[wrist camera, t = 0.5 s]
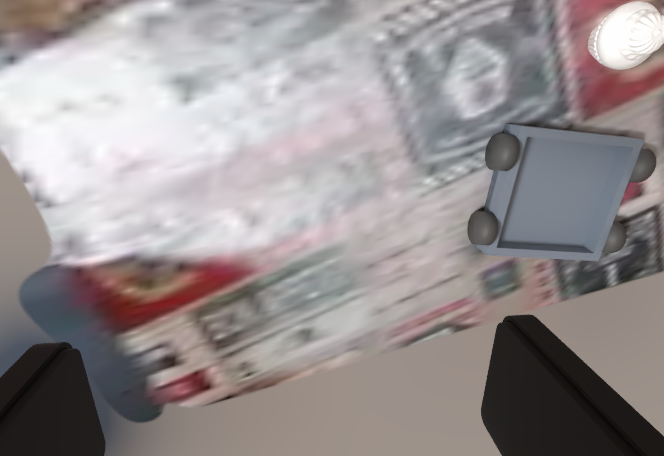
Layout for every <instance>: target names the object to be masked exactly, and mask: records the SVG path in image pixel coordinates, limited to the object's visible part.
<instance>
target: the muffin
mask: <svg viewBox="0 0 664 456" xmlns="http://www.w3.org/2000/svg"><path fill="white" fill-rule="evenodd" d="M662 44H664V15H660V13H659V12H658V10H657V9H656V8H655V7H654V6H653V5H651V4H650V3H647V2H641V1H636V2H630V3H627V4H624V5H622V6H620V7H618V8H617V9H615V10H614V11H613V12H612V13H610V14H609V15H608V16H607V17H605V18H604V19H603V20H602V21H601V22H600V23H599V24H598V26H597V27H596V28H595V29H594V30H593V31H592V33H591V34H590V37H589V40H588V48H589V49H588V50H589V53H590V54H591V55H592V56H593V57H594V58H595V59H596V60H597V61H598V62H599V63H600V64H603V65H604V66H607V67H609V68H612V69H616V70H626V69H630V68H633V67H635V66H637V65H639V64H640V63H642V62H643V61H645V60H646V59H647V58H648V57H649V56H650V55H651V54H652V52H653V51H656V50H658V49H659V48H660V47H661V45H662Z"/></svg>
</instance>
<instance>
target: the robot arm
mask: <svg viewBox="0 0 664 456" xmlns="http://www.w3.org/2000/svg"><path fill="white" fill-rule="evenodd" d="M481 416H482V419H483V423H484V425H485V427H486V429H487V431H488V432H489V433H490V435H491V437H492V439H493V441H494V443H495V444H496V446H497V448H498V449H499V451H500V453H501V455H502V456H664V436H663V435H662V434H661V433H660V432H659V431H657V430H656V429H655V428H654V427H653V426H652V425H651V424H650V423H649V422H648V421H647V420H646V419H645V418H643V417H642V416H641V415H640V414H639V413H638V412H637V411H636V410H635V409H634V408H633V407H632V406H631V405H630V404H628V403H627V402H626V401H625V400H624V399H623V398H622V397H621V396H620V395H619V394H618V393H617V392H616V391H614V390H613V389H612V388H611V387H610V386H609V385H608V384H607V383H606V382H604V380H603V379H602V378H600V377H599V376H598V375H597V374H596V373H595V372H594V371H593V370H592V369H591V368H590V367H589V366H588V365H587V364H585V363H584V362H583V361H582V360H581V359H580V358H579V357H578V356H577V355H576V354H575V353H574V352H573V351H572V350H571V349H569V348H568V347H567V346H566V345H565V344H564V343H563V342H562V341H561V340H560V339H558V337H557V336H555V335H554V334H553V333H552V332H551V331H550V330H549V329H548V328H547V327H546V326H545V325H544V324H543V323H541V322H540V321H539V320H538V319H537V318H536V317H535V316H533V315H514V316H507V317H505V318H504V320H503V322H502V323H499V324H498V325H497V329H496V333H495V339H494V344H493V349H492V354H491V359H490V365H489V370H488V375H487V381H486V386H485V391H484V397H483V401H482V407H481ZM104 453H105V439H104V435H103V432H102V428H101V425H100V421H99V418H98V414H97V410H96V407H95V403H94V400H93V396H92V392H91V389H90V386H89V382H88V378H87V374H86V371H85V367H84V364H83V360H82V357H81V354H80V351H79V350H78V349H73V348H72V346H71V345H70V344H69V343H66V342H61V343H44V344H36V345H33V346H32V347H30V348H29V349H28V350H27V351H26V352H25V353H24V354H23V355H22V356H21V357H20V358H19V359H18V360H17V362H15V364H13V366H11V367H10V368H9V370H8V371H7V372H5V374H4V375H3V376H2V377H1V378H0V456H104Z"/></svg>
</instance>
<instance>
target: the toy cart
mask: <svg viewBox="0 0 664 456" xmlns="http://www.w3.org/2000/svg"><path fill="white" fill-rule="evenodd" d="M644 140H645V139H639V138H632V137H626V136H617V135H608V134H599V133H589V132H580V131H571V130H561V129H552V128H543V127H533V126H524V125H515V124H506V125H505V129H504V133H503V134H502V133H497V134H495V135H493V136H492V138H491V139H490V140H489V142H488V145H487V148H486V153H485V161H486V165H487V167H488V168H489V169H490V170H494V172H493V176H492V180H491V184H490V188H489V192H488V196H487V200H486V204H485V208H484V211H475V212H474V213H473V214H472V215H471V217H470V219H469V222H468V237H469V240H470V241H471V243H472V244H474V245H475V246H476V247H478V248H479V249H480V250H481V251H482V252H484V253H485V254H486V255H495V256H513V257H532V258H550V259H568V260H587V261H599V258H600V256H601V253H602V252H610V253H614V252H617V251H619V250H620V249H621V248H622V247H623V246H624V244H625V242H626V230H625V228H624V226H623V225H622V224H621V223H619V222H617V221H614V219H615V216H616V214H617V211H618V208H619V206H620V203H621V200H622V198H623V195H624V193H625V190H626V187H627V185H628V182H635V183H638V182H642V181H644V180H646V179H648V178H649V177H650V176H651V175H652V173H653V172H654V170H655V167H656V157H655V154H654V153H653V152H652V151H651V150H650V149H647V148H642V145H643V143H644Z"/></svg>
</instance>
